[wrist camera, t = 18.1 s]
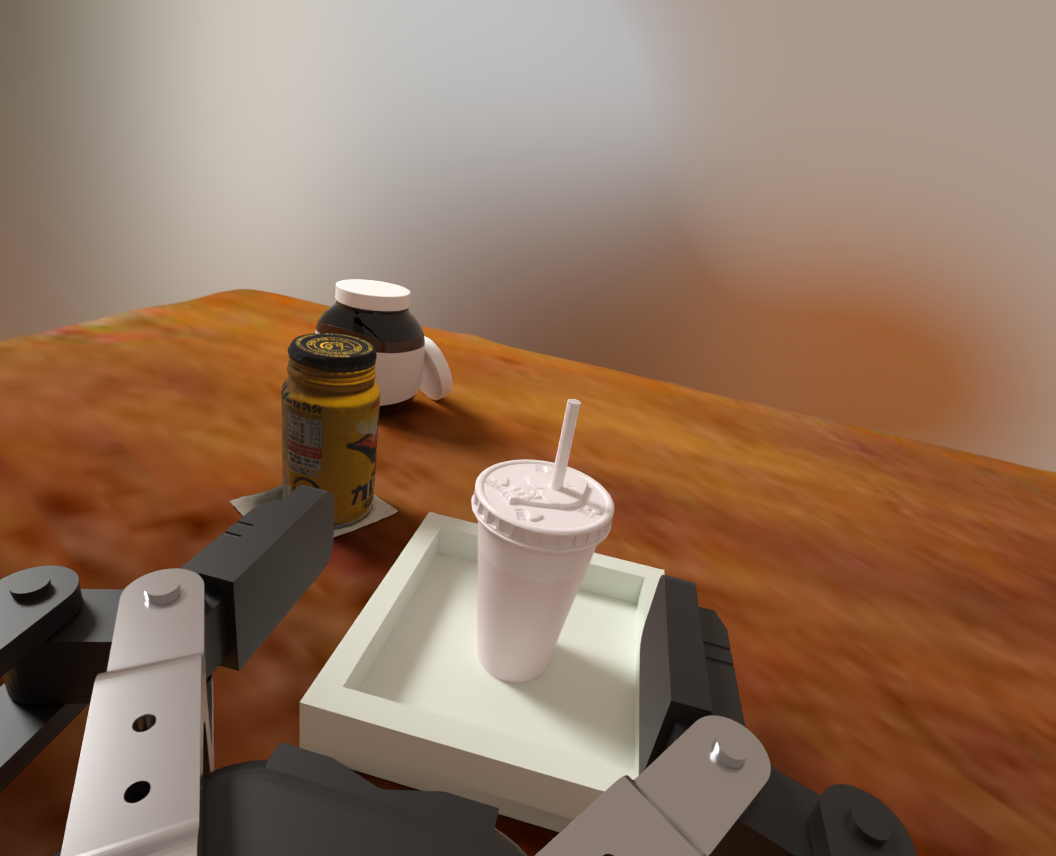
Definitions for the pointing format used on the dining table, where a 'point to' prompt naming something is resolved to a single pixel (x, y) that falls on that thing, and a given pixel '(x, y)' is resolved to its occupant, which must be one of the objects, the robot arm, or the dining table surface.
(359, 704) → the tray
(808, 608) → the dining table surface
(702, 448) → the dining table surface
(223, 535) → the robot arm
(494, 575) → the smoothie
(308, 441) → the condiment
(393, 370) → the spread jar
